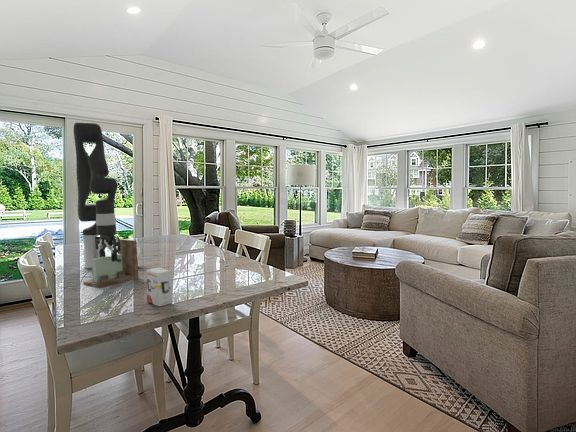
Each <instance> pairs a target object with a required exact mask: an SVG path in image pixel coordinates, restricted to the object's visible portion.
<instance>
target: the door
mask: <svg viewBox="0 0 576 432" xmlns="http://www.w3.org/2000/svg"><path fill="white" fill-rule="evenodd" d="M91 269H92V279H93V282H95V283H98V282H100V276H104V275H108V279H109V280H110V279H113V278H117V277H118V275H117V272H121V271H122V256H121V254H118V253H117V261H114V262H113V261H112V258H111V254H110V255H105V257H100V258H95V259H92V268H91Z"/></svg>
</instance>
